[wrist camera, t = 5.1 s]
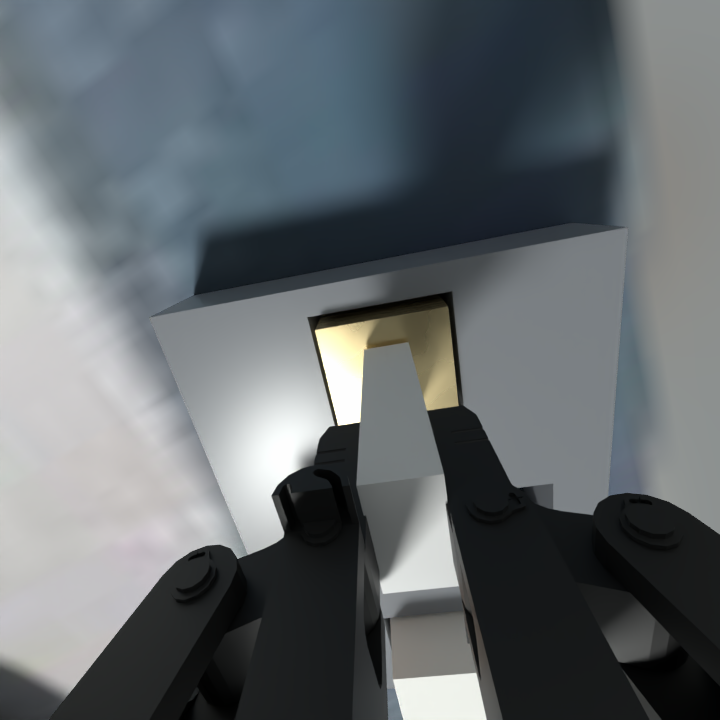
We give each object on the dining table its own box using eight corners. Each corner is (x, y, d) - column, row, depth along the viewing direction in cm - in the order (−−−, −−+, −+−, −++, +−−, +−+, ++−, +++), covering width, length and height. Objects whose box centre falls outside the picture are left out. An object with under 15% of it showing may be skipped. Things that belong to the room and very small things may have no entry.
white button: (388, 593, 20) (392, 679, 17) (470, 584, 20) (492, 671, 16) (400, 643, 22) (406, 732, 18) (476, 637, 21) (498, 726, 18)
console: (193, 295, 16) (149, 317, 13) (571, 222, 15) (628, 227, 11) (315, 631, 25) (306, 695, 22) (563, 607, 23) (594, 672, 20)
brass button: (327, 301, 16) (314, 330, 12) (430, 282, 16) (448, 306, 12) (348, 391, 18) (342, 440, 14) (441, 376, 17) (460, 422, 14)
